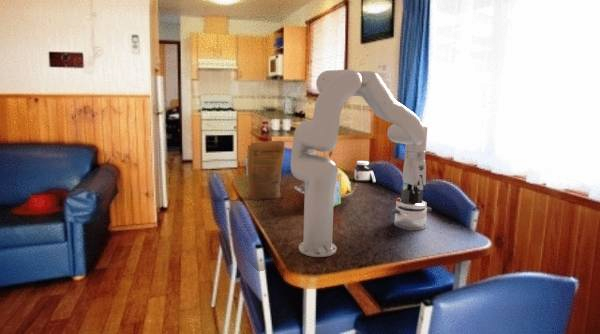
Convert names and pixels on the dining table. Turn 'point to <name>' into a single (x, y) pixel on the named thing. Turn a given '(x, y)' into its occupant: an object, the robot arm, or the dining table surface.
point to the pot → (410, 218)
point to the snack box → (336, 192)
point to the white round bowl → (405, 200)
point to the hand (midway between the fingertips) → (411, 201)
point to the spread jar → (363, 172)
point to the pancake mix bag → (264, 169)
